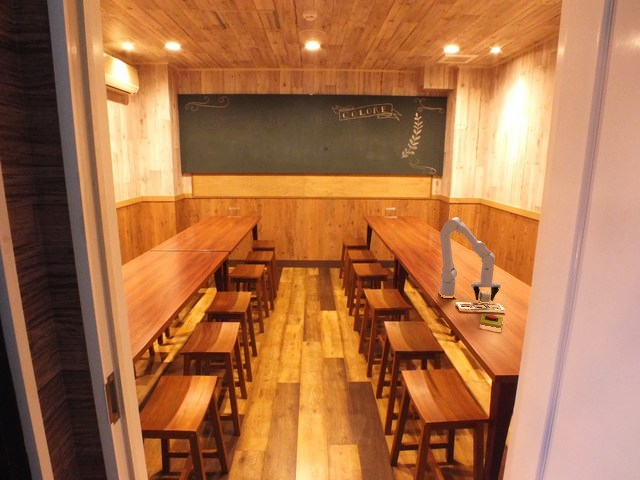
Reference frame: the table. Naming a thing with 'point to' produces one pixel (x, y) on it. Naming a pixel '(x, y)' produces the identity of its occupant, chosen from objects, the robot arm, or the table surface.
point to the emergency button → (491, 320)
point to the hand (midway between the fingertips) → (484, 300)
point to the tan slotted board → (479, 308)
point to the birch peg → (484, 297)
